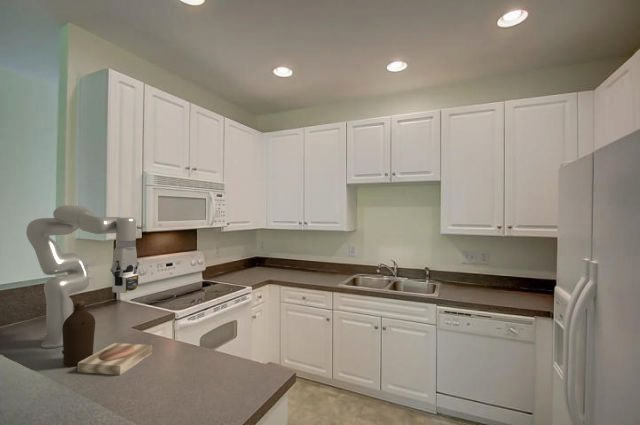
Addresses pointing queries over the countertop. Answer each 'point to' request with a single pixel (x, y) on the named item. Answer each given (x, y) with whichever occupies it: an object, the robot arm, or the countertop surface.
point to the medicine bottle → (126, 281)
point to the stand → (115, 359)
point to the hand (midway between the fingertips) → (125, 283)
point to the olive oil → (78, 335)
